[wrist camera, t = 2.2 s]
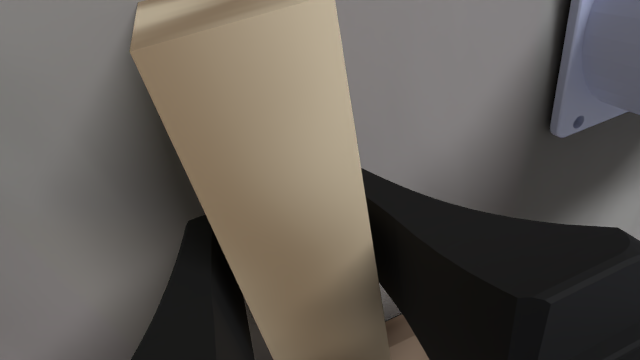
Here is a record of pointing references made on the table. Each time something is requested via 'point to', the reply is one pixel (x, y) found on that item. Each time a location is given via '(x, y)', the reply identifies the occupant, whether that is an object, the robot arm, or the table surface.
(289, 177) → the pine shelf board
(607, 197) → the table surface
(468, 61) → the table surface
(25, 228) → the table surface
